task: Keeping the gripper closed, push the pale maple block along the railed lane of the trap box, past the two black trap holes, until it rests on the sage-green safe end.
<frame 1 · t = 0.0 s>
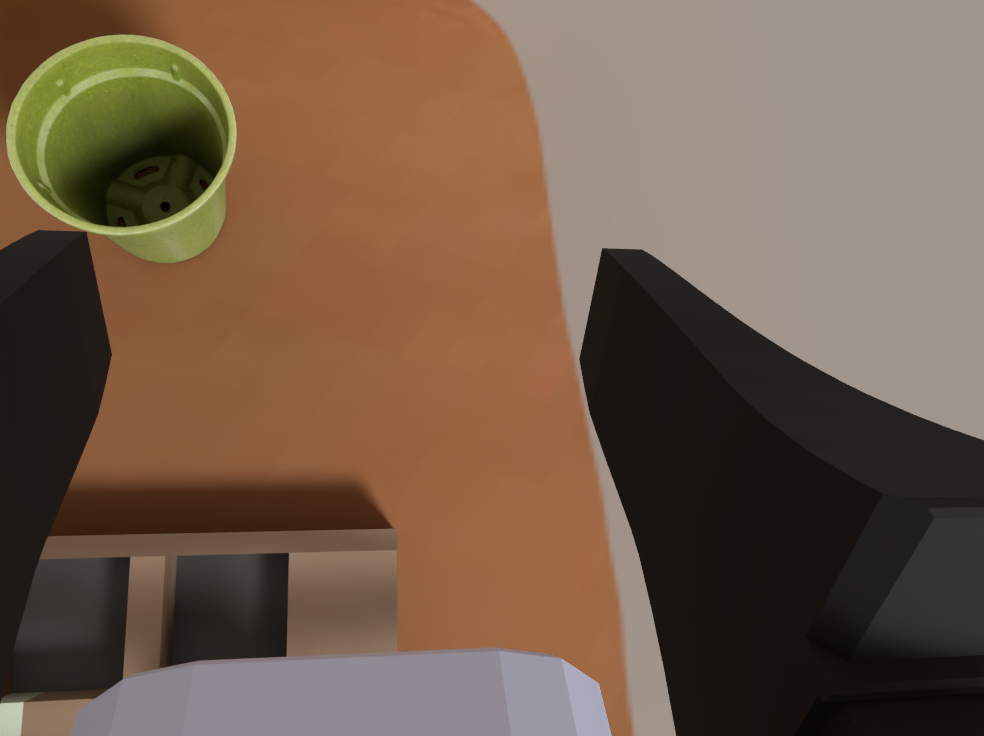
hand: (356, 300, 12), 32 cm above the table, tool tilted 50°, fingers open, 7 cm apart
trap box: (160, 696, 40), on the table
plant pot: (167, 210, 45), on the table
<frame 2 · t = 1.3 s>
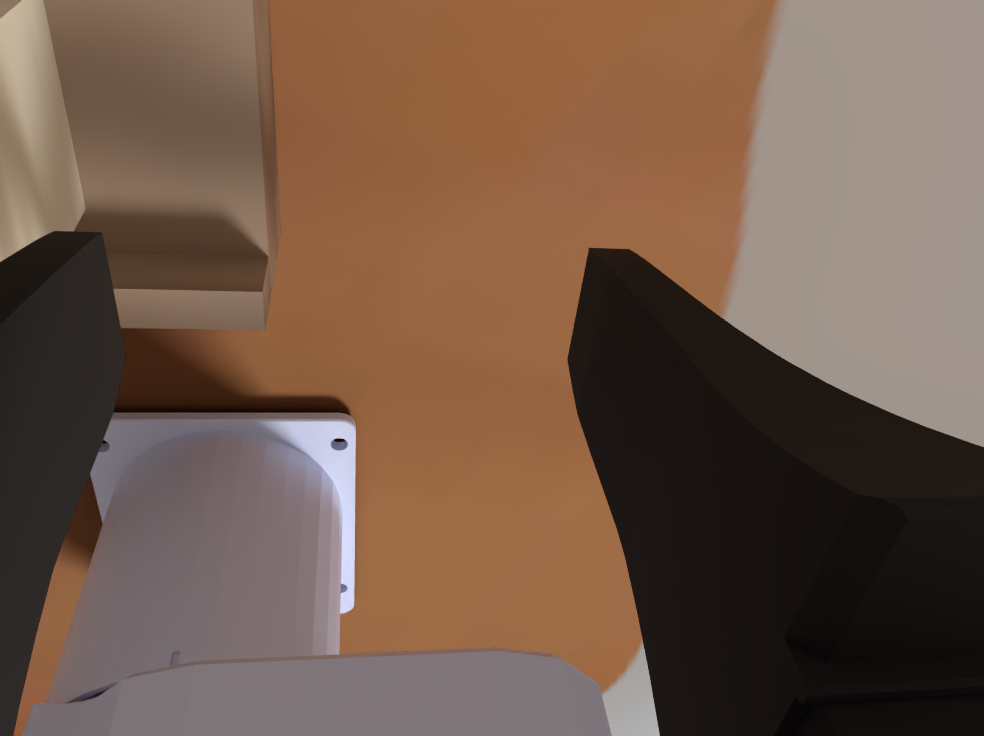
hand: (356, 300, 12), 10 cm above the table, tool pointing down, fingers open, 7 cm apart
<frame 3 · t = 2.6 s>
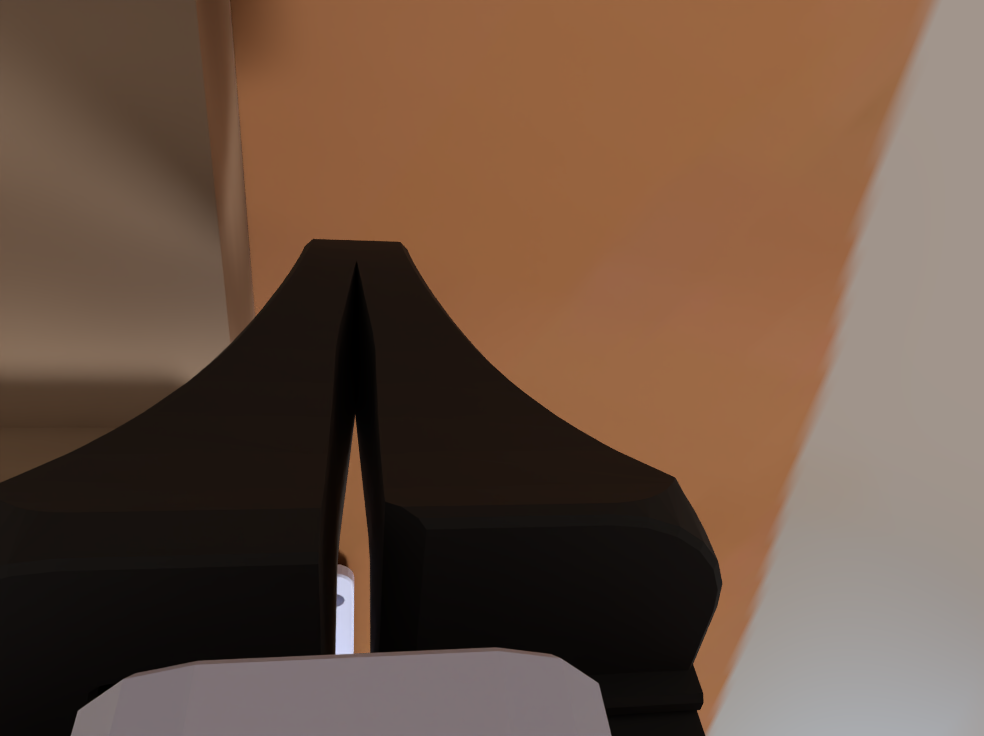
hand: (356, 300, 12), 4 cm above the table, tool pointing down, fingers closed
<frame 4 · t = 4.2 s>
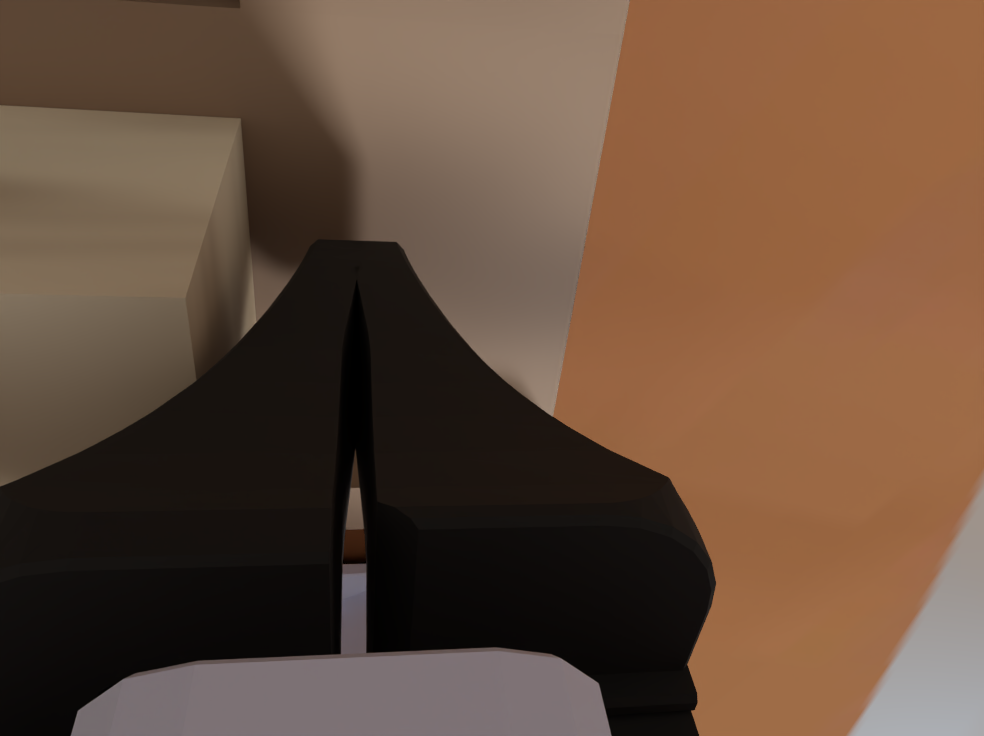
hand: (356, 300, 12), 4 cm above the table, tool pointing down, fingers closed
maple block: (94, 258, 12), point 3 cm above the table, touching gripper
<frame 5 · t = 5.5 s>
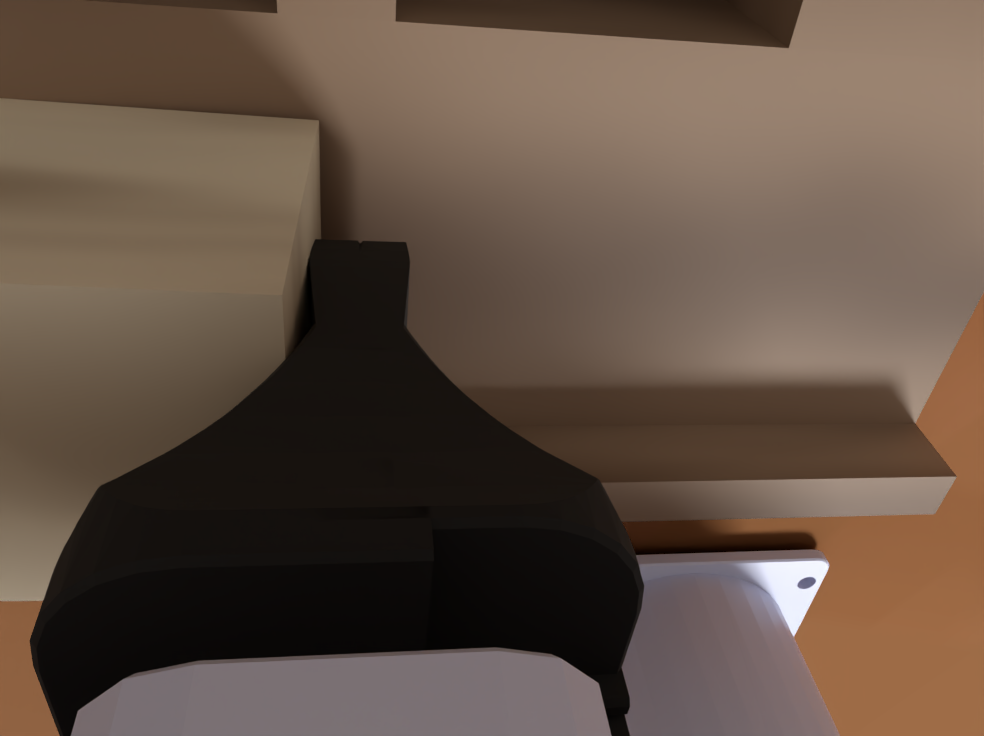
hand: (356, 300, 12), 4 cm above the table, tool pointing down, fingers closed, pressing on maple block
maple block: (167, 256, 13), point 3 cm above the table, touching gripper, trap box
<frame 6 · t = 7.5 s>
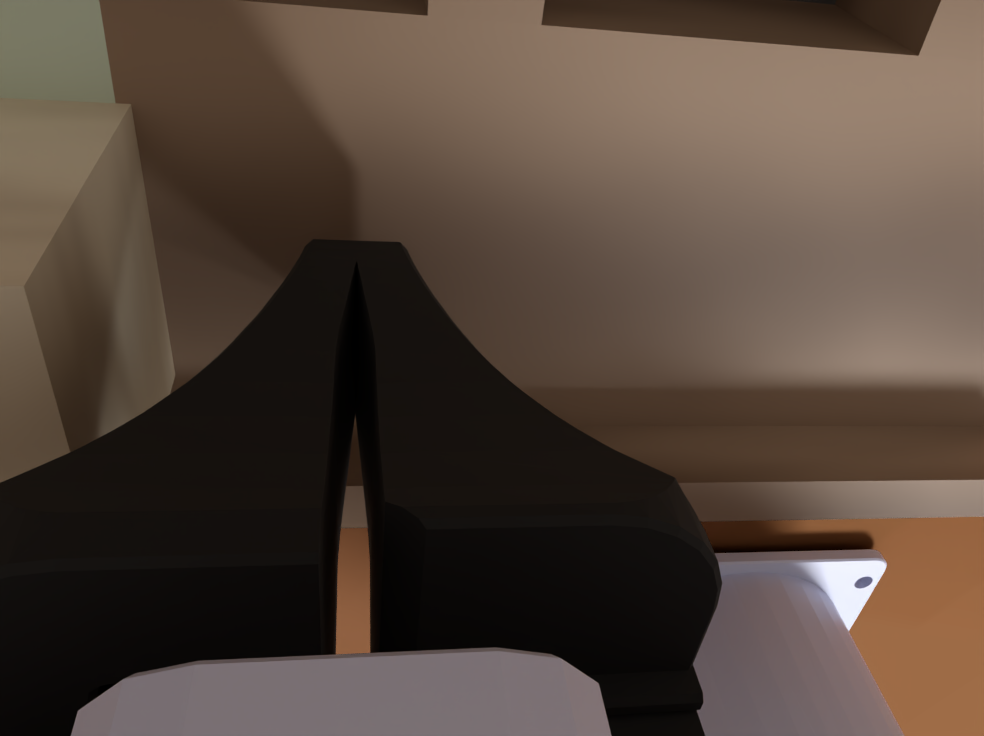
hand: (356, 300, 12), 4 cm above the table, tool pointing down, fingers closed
trap box: (475, 1, 14), on the table
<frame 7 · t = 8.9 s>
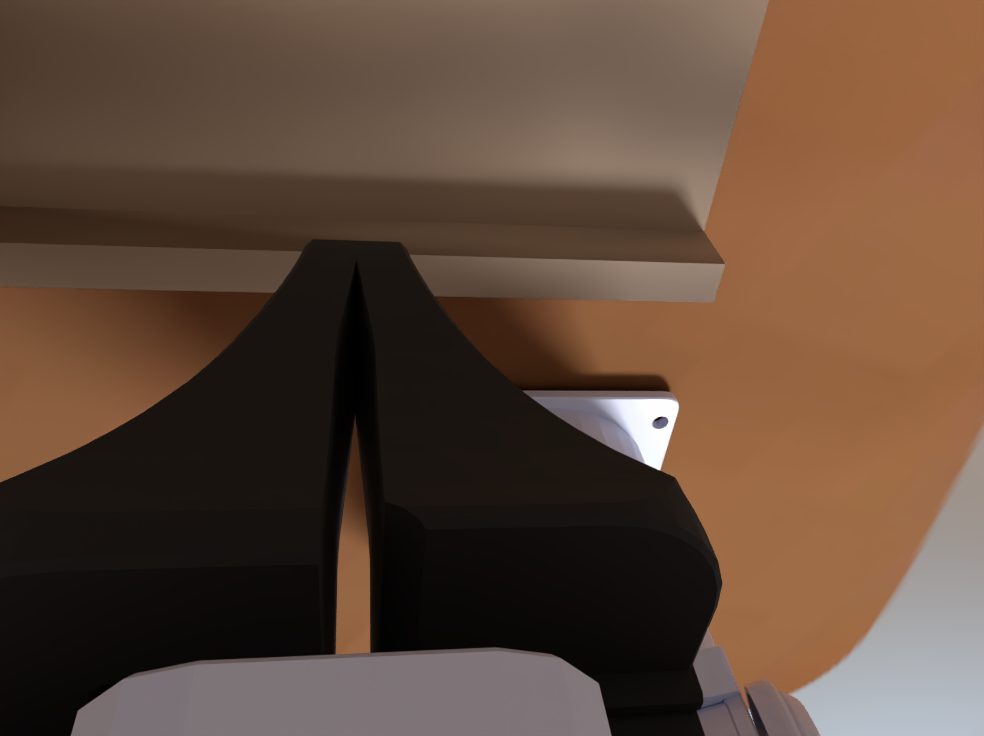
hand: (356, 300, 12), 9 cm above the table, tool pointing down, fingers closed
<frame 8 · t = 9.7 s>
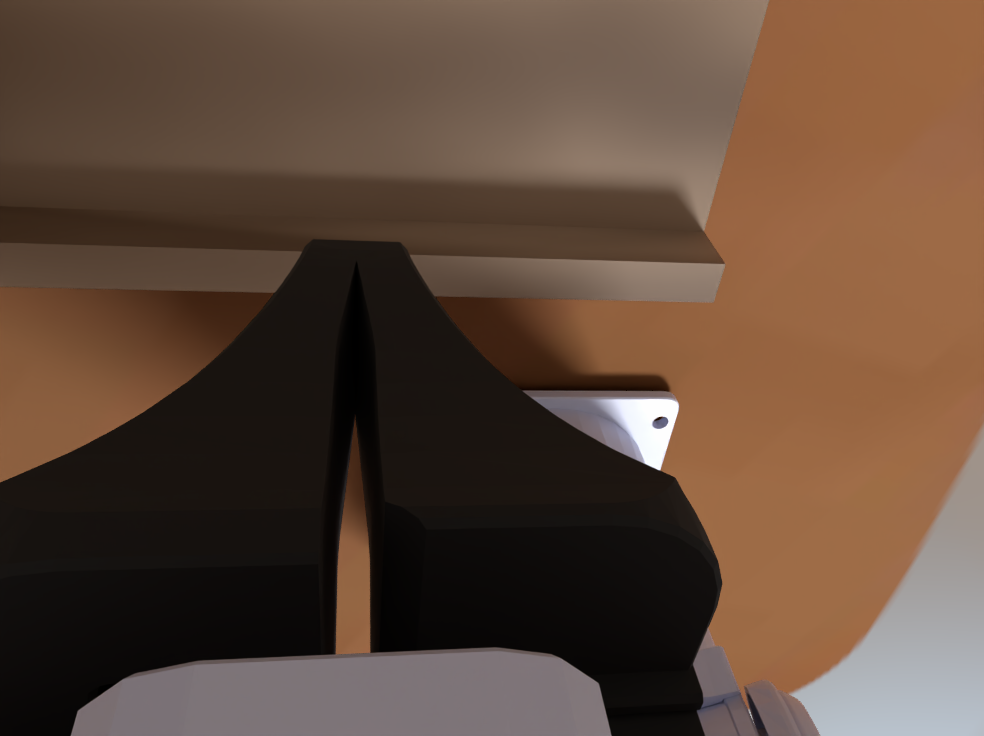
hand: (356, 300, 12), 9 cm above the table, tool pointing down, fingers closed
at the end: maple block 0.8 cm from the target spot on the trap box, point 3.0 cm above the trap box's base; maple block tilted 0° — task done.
